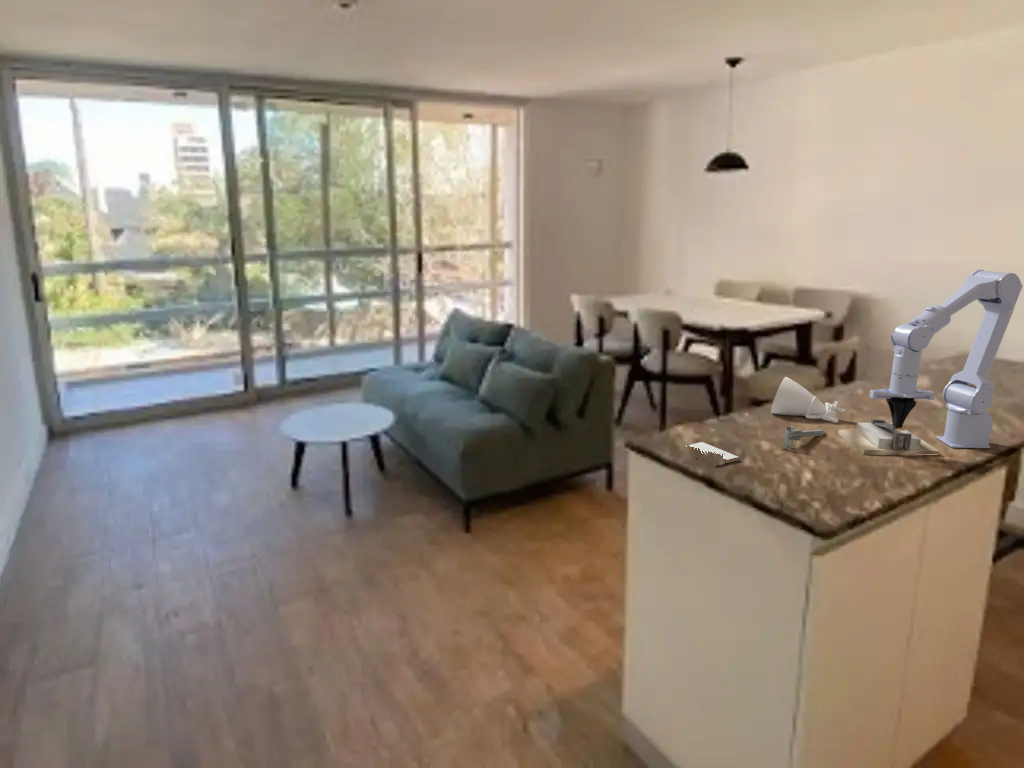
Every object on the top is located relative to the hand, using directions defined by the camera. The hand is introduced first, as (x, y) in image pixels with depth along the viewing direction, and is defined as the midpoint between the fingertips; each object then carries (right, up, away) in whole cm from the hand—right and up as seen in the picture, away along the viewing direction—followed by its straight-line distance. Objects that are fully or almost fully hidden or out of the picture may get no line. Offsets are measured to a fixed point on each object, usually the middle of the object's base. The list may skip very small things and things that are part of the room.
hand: (897, 426), depth 173 cm
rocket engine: (-11, 0, +28) cm, 30 cm away
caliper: (-19, -5, +9) cm, 22 cm away
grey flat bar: (0, 0, +4) cm, 4 cm away
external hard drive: (-47, -8, -1) cm, 48 cm away
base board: (0, -5, +6) cm, 8 cm away
